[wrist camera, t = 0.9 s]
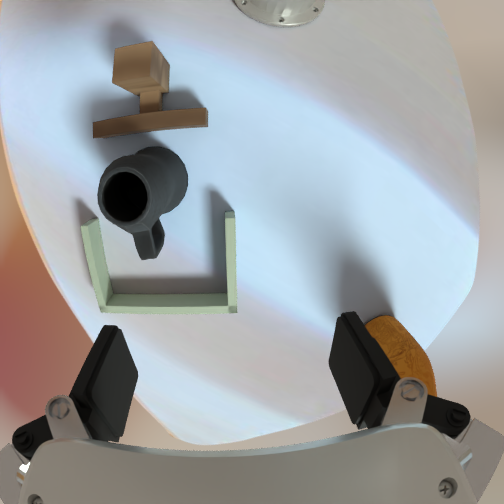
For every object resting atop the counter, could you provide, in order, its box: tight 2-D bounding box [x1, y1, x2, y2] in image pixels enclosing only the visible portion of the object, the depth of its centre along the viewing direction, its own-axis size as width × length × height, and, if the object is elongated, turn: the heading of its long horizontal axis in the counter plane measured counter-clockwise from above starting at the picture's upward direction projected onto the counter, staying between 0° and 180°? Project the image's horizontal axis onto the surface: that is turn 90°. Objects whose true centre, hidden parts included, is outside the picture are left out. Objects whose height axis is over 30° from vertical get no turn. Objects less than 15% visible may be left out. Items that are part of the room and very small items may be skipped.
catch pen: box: [81, 211, 237, 314], centre depth 35 cm, size 13×20×4 cm, turn 90°
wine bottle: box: [365, 315, 437, 397], centre depth 32 cm, size 10×10×30 cm
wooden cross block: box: [93, 41, 208, 138], centre depth 24 cm, size 9×14×9 cm, turn 90°
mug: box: [97, 147, 188, 260], centre depth 28 cm, size 12×9×11 cm
